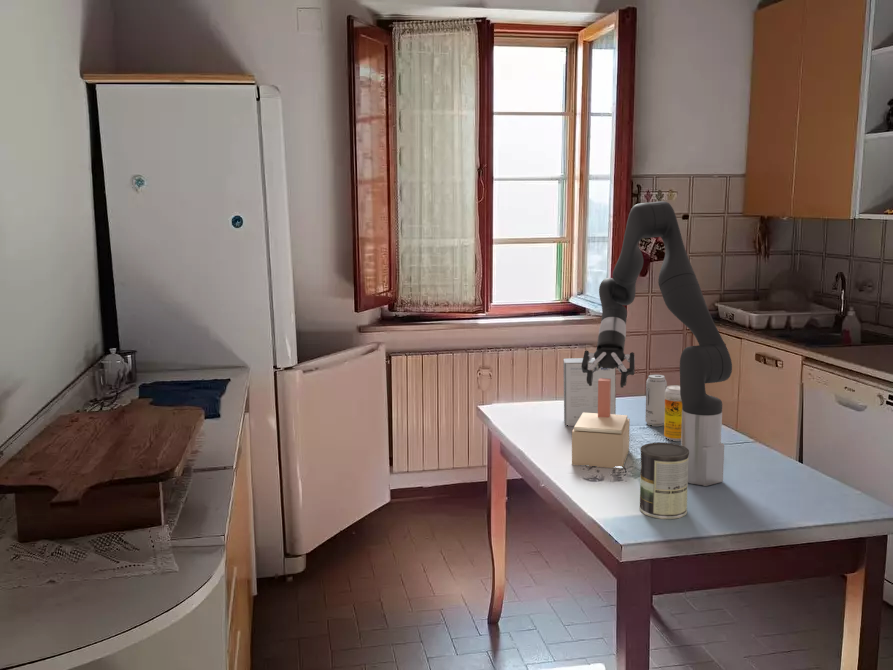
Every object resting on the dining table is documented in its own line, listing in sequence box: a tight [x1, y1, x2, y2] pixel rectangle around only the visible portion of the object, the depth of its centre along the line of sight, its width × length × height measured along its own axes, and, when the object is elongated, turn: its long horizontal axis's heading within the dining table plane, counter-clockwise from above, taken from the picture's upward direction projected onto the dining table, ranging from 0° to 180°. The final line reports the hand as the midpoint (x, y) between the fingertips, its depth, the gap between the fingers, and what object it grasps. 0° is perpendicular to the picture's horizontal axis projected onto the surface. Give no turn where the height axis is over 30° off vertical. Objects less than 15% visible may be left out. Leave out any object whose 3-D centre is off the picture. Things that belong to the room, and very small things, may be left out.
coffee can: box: [639, 442, 689, 520], centre depth 176 cm, size 10×10×14 cm
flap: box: [573, 378, 628, 434], centre depth 212 cm, size 15×12×11 cm
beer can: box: [663, 384, 682, 442], centre depth 229 cm, size 6×6×15 cm
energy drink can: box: [644, 374, 668, 427], centre depth 244 cm, size 6×6×15 cm
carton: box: [571, 418, 631, 469], centre depth 214 cm, size 16×13×9 cm
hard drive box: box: [563, 357, 617, 427], centre depth 246 cm, size 16×8×20 cm, turn 84°
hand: (605, 385), depth 218 cm, fingers open, 8 cm apart
